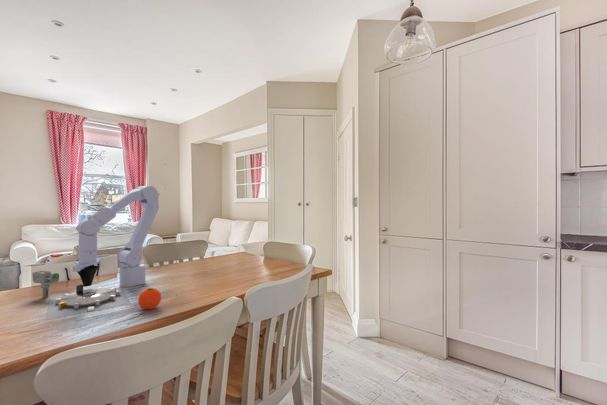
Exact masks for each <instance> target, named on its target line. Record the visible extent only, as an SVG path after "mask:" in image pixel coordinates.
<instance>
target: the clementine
mask: <svg viewBox="0 0 607 405" xmlns="http://www.w3.org/2000/svg"><path fill="white" fill-rule="evenodd" d="M161 301H162V293H161V291H159V289H157V288H154V287H148V288H146V289H144V290H143V291H141V292H140V294H139V296H138V305H139V306H140V307H141V309H143V310H153V309H154V308H157V307H158V306H159V304H160V302H161Z"/></svg>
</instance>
